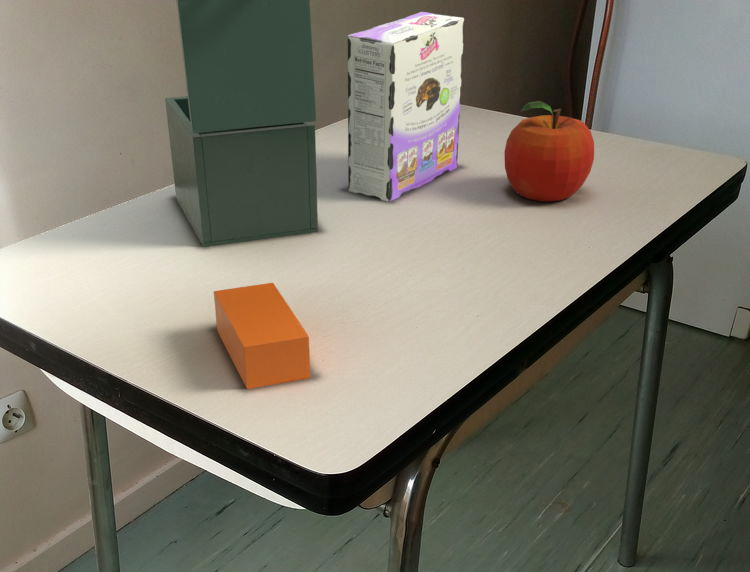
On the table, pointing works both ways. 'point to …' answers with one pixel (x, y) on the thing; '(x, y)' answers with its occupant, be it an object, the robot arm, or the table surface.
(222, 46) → the bin lid
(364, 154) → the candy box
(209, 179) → the bin
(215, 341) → the table surface
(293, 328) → the block
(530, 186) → the fruit
